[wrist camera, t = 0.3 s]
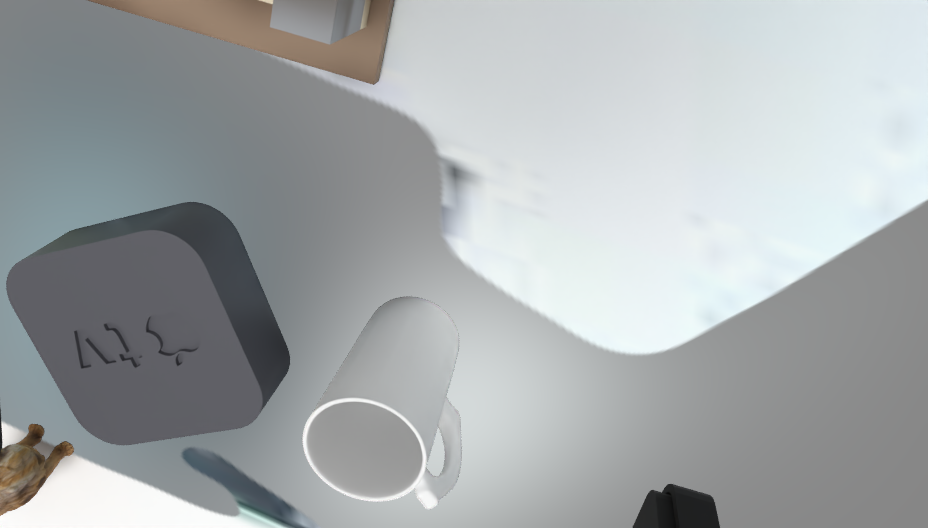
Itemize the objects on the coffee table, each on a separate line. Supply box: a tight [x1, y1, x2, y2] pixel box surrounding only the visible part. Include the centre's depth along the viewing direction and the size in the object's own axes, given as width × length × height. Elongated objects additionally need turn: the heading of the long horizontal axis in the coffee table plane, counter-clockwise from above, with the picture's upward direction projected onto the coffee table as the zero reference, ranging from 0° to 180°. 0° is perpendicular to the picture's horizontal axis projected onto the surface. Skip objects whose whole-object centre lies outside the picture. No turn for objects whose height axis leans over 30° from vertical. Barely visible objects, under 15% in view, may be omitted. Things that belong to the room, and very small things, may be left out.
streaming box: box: [6, 202, 290, 445], centre depth 51 cm, size 14×14×5 cm
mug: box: [303, 297, 462, 509], centre depth 45 cm, size 10×7×12 cm, turn 37°
